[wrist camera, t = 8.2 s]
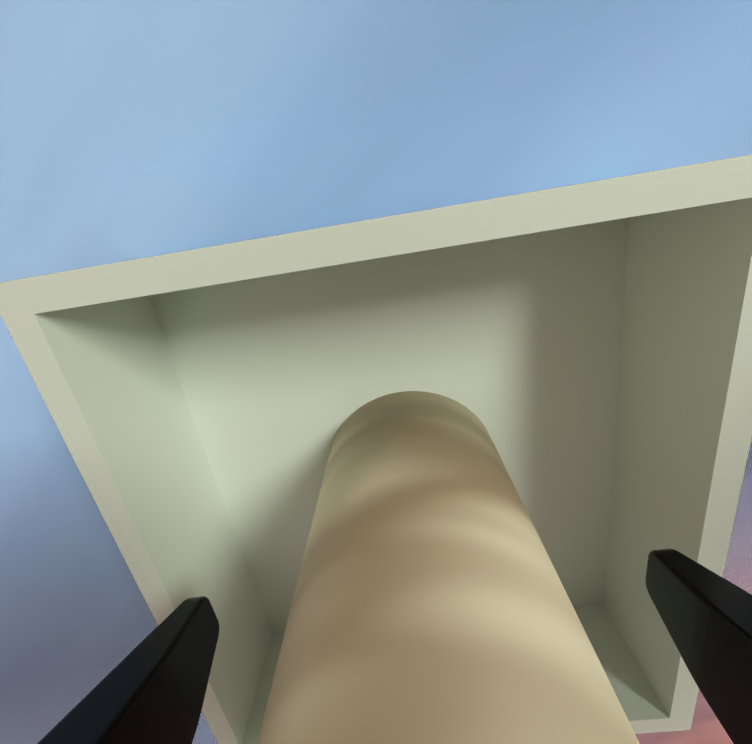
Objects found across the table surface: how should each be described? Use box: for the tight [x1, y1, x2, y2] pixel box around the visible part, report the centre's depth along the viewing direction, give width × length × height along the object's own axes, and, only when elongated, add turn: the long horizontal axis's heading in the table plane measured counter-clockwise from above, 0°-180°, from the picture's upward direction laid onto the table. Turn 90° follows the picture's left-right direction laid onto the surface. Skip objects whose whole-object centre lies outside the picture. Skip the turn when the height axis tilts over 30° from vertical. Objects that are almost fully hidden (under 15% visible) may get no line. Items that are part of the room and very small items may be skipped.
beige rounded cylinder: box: [257, 391, 640, 744], centre depth 8 cm, size 5×5×8 cm
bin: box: [0, 155, 752, 744], centre depth 11 cm, size 13×14×4 cm
